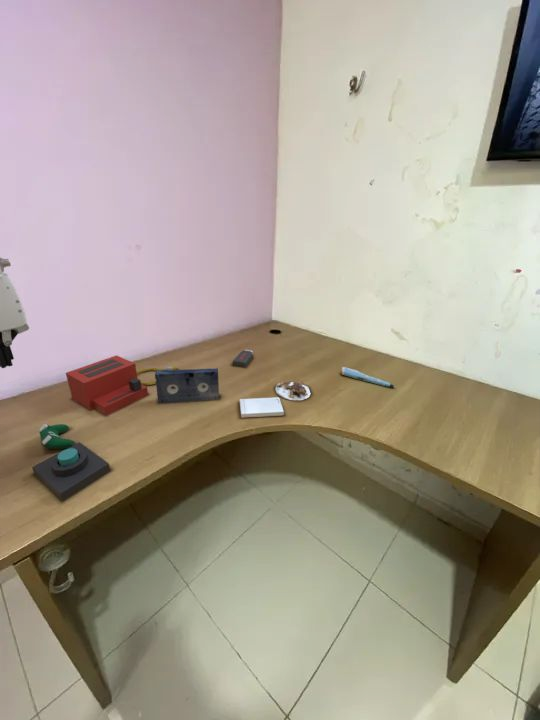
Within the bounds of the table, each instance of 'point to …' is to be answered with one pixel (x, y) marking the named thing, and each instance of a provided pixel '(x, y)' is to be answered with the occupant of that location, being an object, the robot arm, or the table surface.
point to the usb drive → (243, 358)
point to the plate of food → (292, 390)
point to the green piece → (54, 436)
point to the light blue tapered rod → (363, 377)
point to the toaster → (105, 385)
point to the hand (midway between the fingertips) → (4, 364)
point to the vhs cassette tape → (187, 385)
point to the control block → (71, 472)
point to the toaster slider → (135, 384)
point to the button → (68, 457)
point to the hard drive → (261, 407)
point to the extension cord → (156, 370)
